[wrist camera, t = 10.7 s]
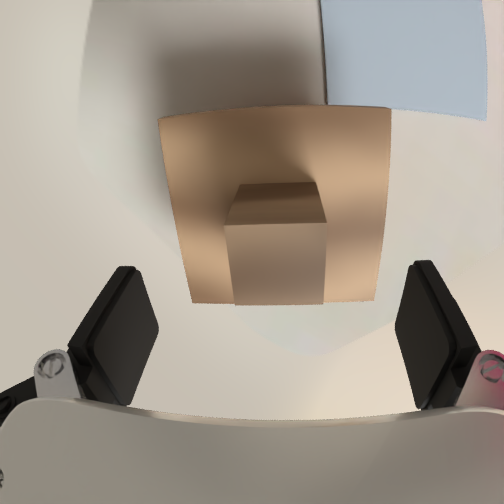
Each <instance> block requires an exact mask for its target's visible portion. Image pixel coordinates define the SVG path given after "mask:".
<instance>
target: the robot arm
mask: <svg viewBox="0 0 504 504" xmlns="http://www.w3.org/2000/svg"><path fill="white" fill-rule="evenodd" d="M158 331H159V327H158V323H157V320H156V317H155V314H154V311H153V308H152V305H151V303H150V300H149V297H148V294H147V291H146V288H145V285H144V281H143V278H142V275H141V273H140V271H138V270H136V268H135V267H134V266H119V267H118V268H117V269H116V271H115V272H114V274H113V275H112V276H111V278H110V279H109V281H108V282H107V284H106V285H105V287H104V288H103V290H102V291H101V293H100V294H99V296H98V297H97V299H96V300H95V302H94V303H93V305H92V306H91V308H90V310H89V311H88V313H87V314H86V316H85V317H84V319H83V320H82V322H81V324H80V325H79V327H78V329H77V330H76V332H75V333H74V335H73V336H72V338H71V340H70V341H69V343H68V347H69V349H68V351H67V352H65V351H63V350H60V349H59V350H51V351H48V352H47V353H45V354H43V355H42V356H41V357H40V358H39V359H38V361H37V363H36V364H35V367H34V376H33V377H31V378H29V379H27V380H25V381H23V382H21V383H19V384H17V385H15V386H13V387H11V388H9V389H7V390H5V391H3V392H2V393H0V504H504V355H503V354H501V353H500V352H497V351H494V350H486V351H481V349H480V348H479V345H478V343H477V341H476V339H475V337H474V335H473V333H472V331H471V329H470V327H469V325H468V323H467V321H466V319H465V317H464V315H463V313H462V312H461V310H460V308H459V306H458V304H457V302H456V300H455V299H454V298H453V297H452V295H451V293H450V291H449V290H448V288H447V286H446V284H445V282H444V281H443V279H442V277H441V276H440V274H439V272H438V271H437V269H436V267H435V266H434V264H433V262H432V261H431V260H417V261H415V262H414V264H413V265H410V266H409V268H408V273H407V277H406V282H405V286H404V290H403V295H402V299H401V303H400V307H399V311H398V314H397V318H396V322H395V332H396V336H397V339H398V342H399V346H400V349H401V353H402V356H403V359H404V363H405V366H406V370H407V374H408V378H409V381H410V385H411V389H412V393H413V397H414V401H415V405H416V407H417V408H418V409H421V411H415V412H407V413H399V414H390V415H380V416H370V417H359V418H345V419H327V420H246V419H227V418H213V417H202V416H191V415H182V414H173V413H165V412H158V411H151V410H144V409H138V408H132V407H126V406H127V405H130V404H131V402H132V399H133V397H134V394H135V391H136V388H137V386H138V383H139V381H140V378H141V376H142V373H143V370H144V368H145V365H146V363H147V360H148V358H149V355H150V352H151V350H152V348H153V345H154V342H155V340H156V338H157V335H158Z"/></svg>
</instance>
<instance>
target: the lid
mask: <svg viewBox="0 0 504 504" xmlns="http://www.w3.org/2000/svg"><path fill="white" fill-rule="evenodd" d="M158 125H159V132H160V139H161V145H162V152H163V158H164V164H165V170H166V176H167V181H168V187H169V193H170V198H171V204H172V209H173V214H174V219H175V225H176V230H177V235H178V239H179V244H180V249H181V254H182V259H183V263H184V268H185V272H186V277H187V281H188V286H189V290H190V294H191V299H192V303H214V304H218V303H219V304H235V305H313V304H323V303H325V302H354V301H374V296H375V291H376V285H377V278H378V272H379V265H380V258H381V251H382V243H383V235H384V227H385V217H386V207H387V196H388V183H389V168H390V148H391V109H390V108H387V107H379V106H359V105H282V106H261V107H246V108H234V109H223V110H213V111H204V112H195V113H188V114H180V115H173V116H167V117H162V118H160V119H158Z"/></svg>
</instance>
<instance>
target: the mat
mask: <svg viewBox="0 0 504 504" xmlns="http://www.w3.org/2000/svg"><path fill="white" fill-rule="evenodd" d="M320 3H321V13H322V24H323V36H324V49H325V64H326V82H327V104H328V105H359V106H379V107H387V108H390V109H397V110H409V111H419V112H429V113H437V114H445V115H452V116H459V117H465V118H472V119H477V120H483V121H486V118H487V50H486V35H485V25H484V16H483V8H482V1H481V0H320Z"/></svg>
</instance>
